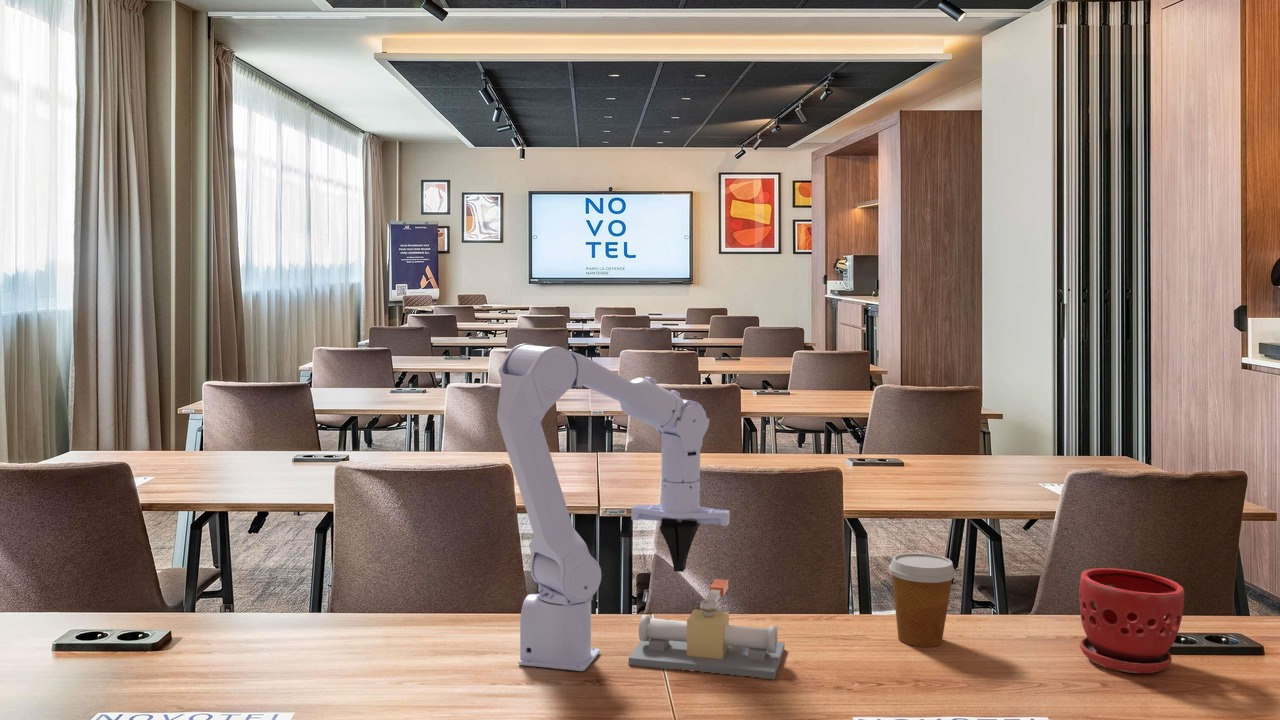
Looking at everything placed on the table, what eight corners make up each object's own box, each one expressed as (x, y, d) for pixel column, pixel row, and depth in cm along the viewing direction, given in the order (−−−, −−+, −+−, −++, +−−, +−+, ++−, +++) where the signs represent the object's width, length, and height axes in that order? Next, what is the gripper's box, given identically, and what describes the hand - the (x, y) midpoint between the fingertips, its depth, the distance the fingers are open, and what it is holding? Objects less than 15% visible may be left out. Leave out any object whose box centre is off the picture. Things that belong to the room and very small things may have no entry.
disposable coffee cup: (907, 653, 146) (910, 570, 146) (875, 632, 156) (877, 554, 155) (966, 648, 149) (969, 566, 148) (931, 627, 158) (933, 550, 157)
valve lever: (714, 612, 142) (714, 603, 142) (699, 610, 143) (699, 602, 143) (728, 587, 154) (728, 580, 154) (714, 586, 154) (714, 578, 154)
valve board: (628, 664, 141) (628, 616, 141) (649, 636, 153) (649, 591, 152) (774, 679, 136) (775, 629, 136) (784, 649, 148) (785, 602, 147)
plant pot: (1131, 686, 135) (1134, 596, 134) (1056, 653, 147) (1059, 571, 146) (1203, 673, 140) (1206, 586, 139) (1124, 642, 152) (1128, 562, 151)
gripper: (733, 477, 154) (732, 566, 155) (639, 472, 158) (639, 559, 159) (725, 485, 148) (724, 578, 149) (628, 480, 151) (627, 571, 152)
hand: (679, 569), depth 153 cm, fingers closed
